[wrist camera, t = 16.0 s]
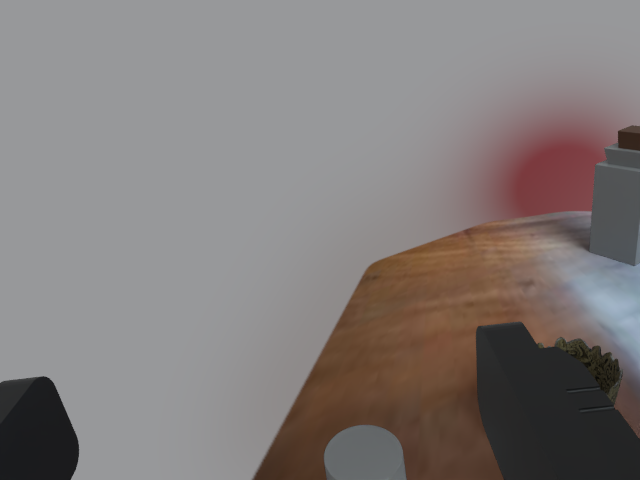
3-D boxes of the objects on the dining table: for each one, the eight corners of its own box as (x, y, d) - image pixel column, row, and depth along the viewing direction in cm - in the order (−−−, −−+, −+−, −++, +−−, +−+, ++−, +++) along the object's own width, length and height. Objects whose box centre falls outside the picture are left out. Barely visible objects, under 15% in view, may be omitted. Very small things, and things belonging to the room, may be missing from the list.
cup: (551, 474, 44) (555, 399, 41) (510, 414, 51) (510, 346, 48) (634, 455, 45) (644, 380, 42) (582, 398, 52) (587, 330, 48)
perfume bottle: (661, 249, 76) (678, 126, 68) (634, 265, 73) (648, 138, 66) (616, 237, 81) (626, 121, 74) (589, 251, 78) (597, 132, 71)
